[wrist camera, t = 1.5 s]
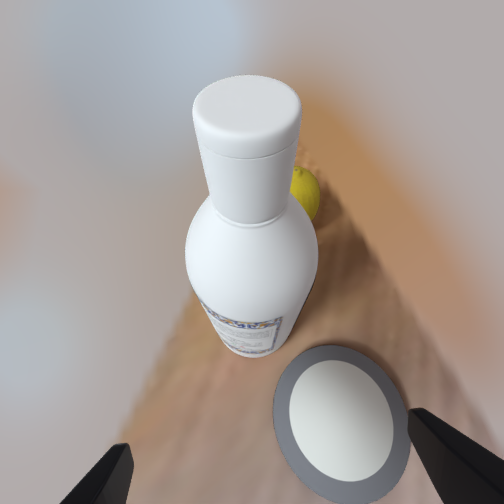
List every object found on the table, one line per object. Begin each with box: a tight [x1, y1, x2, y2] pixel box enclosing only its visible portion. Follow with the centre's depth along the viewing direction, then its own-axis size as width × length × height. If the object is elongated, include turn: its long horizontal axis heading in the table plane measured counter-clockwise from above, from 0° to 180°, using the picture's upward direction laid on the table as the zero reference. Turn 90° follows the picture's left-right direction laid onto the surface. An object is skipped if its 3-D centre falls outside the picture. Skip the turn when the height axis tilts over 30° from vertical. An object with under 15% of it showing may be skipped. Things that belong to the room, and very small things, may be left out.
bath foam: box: [185, 75, 318, 358], centre depth 15 cm, size 7×7×20 cm
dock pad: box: [273, 345, 411, 504], centre depth 20 cm, size 10×10×1 cm
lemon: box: [290, 166, 320, 221], centre depth 26 cm, size 6×6×8 cm
